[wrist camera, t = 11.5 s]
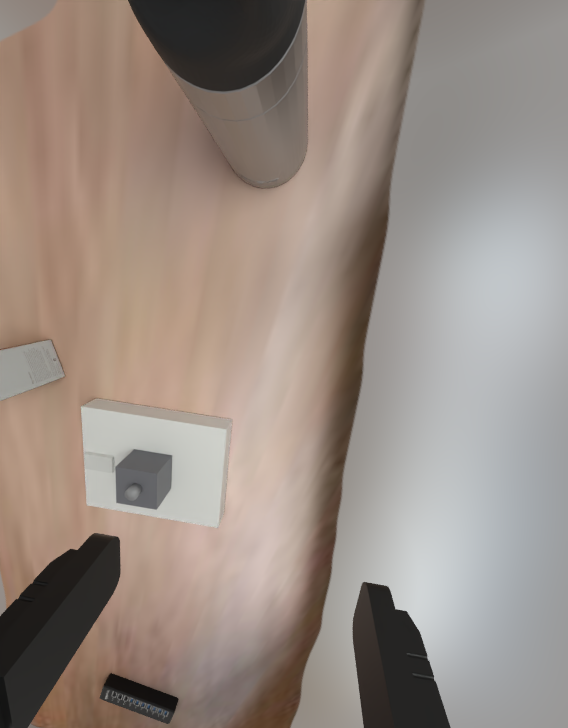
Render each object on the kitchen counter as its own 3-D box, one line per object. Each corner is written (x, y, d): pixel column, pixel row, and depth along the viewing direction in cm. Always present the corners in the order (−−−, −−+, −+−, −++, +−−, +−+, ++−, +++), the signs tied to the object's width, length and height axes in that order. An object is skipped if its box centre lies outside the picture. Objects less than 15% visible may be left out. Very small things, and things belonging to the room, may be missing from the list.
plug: (145, 438, 43) (109, 472, 35) (181, 444, 43) (152, 479, 35) (145, 469, 45) (110, 509, 37) (180, 475, 45) (151, 516, 37)
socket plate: (96, 398, 42) (77, 408, 39) (232, 419, 41) (225, 431, 38) (100, 491, 47) (83, 508, 43) (223, 512, 46) (217, 531, 42)
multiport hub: (174, 708, 60) (168, 725, 57) (106, 683, 59) (99, 699, 57) (179, 695, 58) (174, 712, 56) (111, 670, 58) (103, 685, 56)
